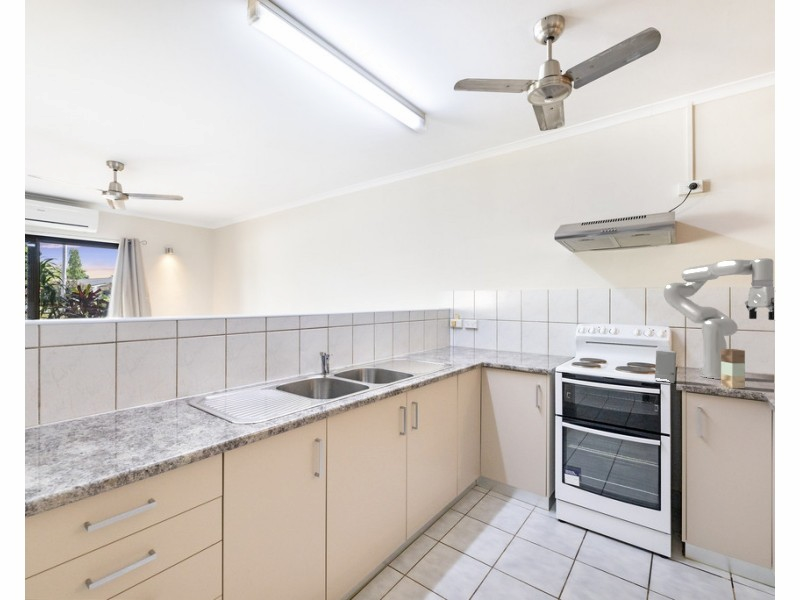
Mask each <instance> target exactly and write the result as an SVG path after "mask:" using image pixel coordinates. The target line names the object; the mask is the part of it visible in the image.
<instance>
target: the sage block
mask: <svg viewBox="0 0 800 600" xmlns="http://www.w3.org/2000/svg"><path fill="white" fill-rule="evenodd" d="M721 374H725V375H729V376H745V377H746V362H745V363H728V362H722V361H721Z"/></svg>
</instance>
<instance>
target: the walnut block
mask: <svg viewBox="0 0 800 600" xmlns="http://www.w3.org/2000/svg"><path fill="white" fill-rule="evenodd" d="M721 361H722V362H728V363H745V364H746V350H742V349H737V348H736V349H735V348H727V349H721Z"/></svg>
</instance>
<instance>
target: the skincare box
mask: <svg viewBox="0 0 800 600" xmlns="http://www.w3.org/2000/svg"><path fill="white" fill-rule="evenodd" d="M676 366H677V351H672V350H667V349H666V350H663V349H657V350H656V351H655V365H654V367H655V368H654V369H655V370H654V379H655V378H660V379H667V380H669V381H670V383H669V384H675V382H676Z"/></svg>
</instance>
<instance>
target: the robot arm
mask: <svg viewBox="0 0 800 600" xmlns="http://www.w3.org/2000/svg"><path fill="white" fill-rule="evenodd" d="M732 275H733V276H734V275H735V276H736V275H737V276H738V275H742V276H749V275H750V276H751V287H750V288H749V292H748V297H747V300H746V301H745V302H744V304H745V307H746V309H747V311H748V313H749V315H748V319H750V320H757V318H758V317H757V316H758V315H757V312H758V311H757V309H758V308H767V309H768V310H769V311H768V315H767V318H768V320H769V321H775V320H774V288H775V286H774V260H773V258H754V259H753V260H752V259H731V260H724V261H718V262H714V263H710V264H704V265H698V266H696V265H695V266H691V267H687V268H684V270H682V272H681V278H682V279H683V280H684V281H685V282H672V283H669V284H667V285H666V286H665V287H664V289H663V297H664V299H665V301H666V302H667V304H668V305H670V306H671V307H672V308H674V309H675V310H676V311H678V312H679V313H680V314H681V315H683V316H684V317H686V318H687V319H688V320H690V321H691V322H692V323H694V324H701V333H702V339H703V366H702V367H700V368H699V370H700V371H702V372H701V373H699V376H701V377H703V378H706V377H707V379H712V378H714V379H715V380H721V349H728V347H727V346H728V345H727V341H726V338H725V337H729V336H733V335H734V334H735V335H736V333H737V332H738V329H739V328H738V324H737V322H736V321H734V319H732V318H731V317H729V316H728V315H726V314H724V312H722V311H720V310H719V309H717V308H715V307H712V306H702V305H699V304H697V303H695V302H694V301H692V300H691V299H689V298H690V297H692V296H694V295H696V293H698V292H699V290H701V288H702V287H703V286H704V285H705V284H706V283H707V282H708V281H710V280H711V281H712V280H713V281H714V280H716V279H718V278H719V277H725V276H732ZM714 379H713V380H714Z"/></svg>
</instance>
